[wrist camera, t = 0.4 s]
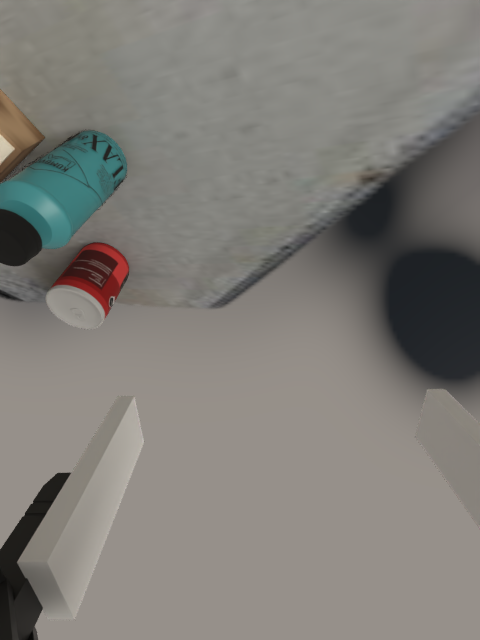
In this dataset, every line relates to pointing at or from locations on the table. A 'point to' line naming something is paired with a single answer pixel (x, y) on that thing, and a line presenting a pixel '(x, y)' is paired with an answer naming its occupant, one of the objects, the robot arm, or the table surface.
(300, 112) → the table surface
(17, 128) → the walnut pedestal
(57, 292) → the canned food
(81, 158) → the beverage bottle
